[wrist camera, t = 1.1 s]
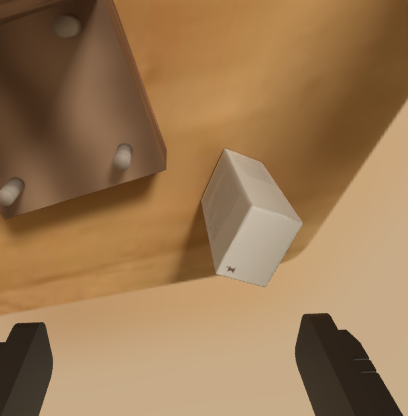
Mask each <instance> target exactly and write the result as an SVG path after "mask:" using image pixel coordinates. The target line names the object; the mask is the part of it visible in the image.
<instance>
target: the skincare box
mask: <svg viewBox="0 0 408 416" xmlns="http://www.w3.org/2000/svg"><path fill="white" fill-rule="evenodd" d="M201 203H202V208H203V213H204V218H205V223H206V228H207V233H208V238H209V243H210V248H211V254H212V259H213V264H214V269H215V273H216V274H217V275H221V276H225V277H229V278H233V279H236V280H240V281H244V282H247V283H251V284H255V285H259V286H263V287H266V286H267V284H268V282H269V281H270V279H271V277H272V276H273V274H274V272H275V271H276V269H277V267H278V266H279V264H280V262H281V260H282V259H283V257H284V255H285V253H286V252H287V250H288V248H289V247H290V245H291V243H292V242H293V240H294V238H295V236H296V235H297V233H298V231H299V230H300V228H301V227H302V225H303V222H302V221H301V219H300V218H299V216H298V215H297V214H296V212H295V211H294V209H293V208H292V206H291V205H290V203H289V202H288V200H287V199H286V197H285V196H284V194H283V193H282V191H281V190H280V188H279V187H278V185H277V184H276V182H275V181H274V180H273V178H272V177H271V175H270V174H269V172H268V171H267V169H266V168H265V166H264V165H263V163H262V162H260V161H257V160H254V159H251V158H249V157H246V156H244V155H241V154H239V153H236V152H233V151H231V150H228V149H224V150H223V152H222V155H221V157H220V159H219V161H218V164H217V166H216V168H215V170H214V172H213V175H212V177H211V179H210V181H209V184H208V186H207V188H206V190H205V193H204V195H203V197H202V199H201Z"/></svg>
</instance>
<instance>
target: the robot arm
mask: <svg viewBox="0 0 408 416" xmlns="http://www.w3.org/2000/svg"><path fill="white" fill-rule="evenodd" d="M295 357H296V363H297V366H298V370H299V372H300V375H301V378H302V381H303V383H304V386H305V389H306V391H307V394H308V397H309V400H310V402H311V405H312V408H313V410H314V413H315V416H403V415H402V413H401V411H400V410H399V408H398V406H397V404H396V403H395V401H394V399H393V398H392V396H391V394H390V392H389V391H388V389H387V387H386V386H385V384H384V382H383V381H382V379H381V377H380V375H379V374H378V373H376V369H375V367H374V365H373V364H372V362H371V361H370V360H369V357H368V355H367V353H366V352H365V350H364V348H363V347H362V345H361V343H360V342H359V341H358V340H357V339H356V338H355V337H354V336H353V335H351V334H350V333H349V332H348V331H347V330H338V329H337V327H336V325H335V323H334V321H333V320H332V318H331V316H330V315H329V314H328V313H319V314H304V315H303V317H302V320H301V324H300V329H299V333H298V338H297V342H296V347H295ZM52 369H53V357H52V352H51V348H50V343H49V339H48V335H47V330H46V326H45V324H44V323H43V322H40V323H38V322H37V323H17V324H15V325H14V327H13V328H12V330H11V332H10V334H9V336H8V338H7V340H6V342H0V416H39V413H40V410H41V406H42V404H43V401H44V397H45V394H46V391H47V388H48V385H49V382H50V379H51V375H52Z"/></svg>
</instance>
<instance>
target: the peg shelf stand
mask: <svg viewBox="0 0 408 416" xmlns="http://www.w3.org/2000/svg"><path fill="white" fill-rule="evenodd" d="M166 153H167V149H166V147H165V144H164V141H163V138H162V135H161V133H160V130H159V127H158V124H157V121H156V119H155V116H154V113H153V110H152V108H151V105H150V102H149V99H148V96H147V94H146V91H145V88H144V85H143V82H142V80H141V77H140V74H139V71H138V69H137V66H136V63H135V60H134V57H133V55H132V52H131V49H130V46H129V43H128V41H127V38H126V35H125V32H124V29H123V27H122V24H121V21H120V18H119V16H118V13H117V10H116V7H115V4H114V2H113V0H0V213H1V214H2V216H3V217H4V219H8V218H11V217H14V216H18V215H21V214H24V213H27V212H31V211H34V210H37V209H40V208H44V207H47V206H50V205H53V204H57V203H60V202H63V201H66V200H70V199H73V198H76V197H79V196H83V195H86V194H89V193H93V192H96V191H99V190H102V189H106V188H109V187H112V186H115V185H119V184H122V183H125V182H128V181H132V180H135V179H138V178H141V177H145V176H148V175H151V174H154V173H158V172H161V171H164V170H166Z"/></svg>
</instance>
